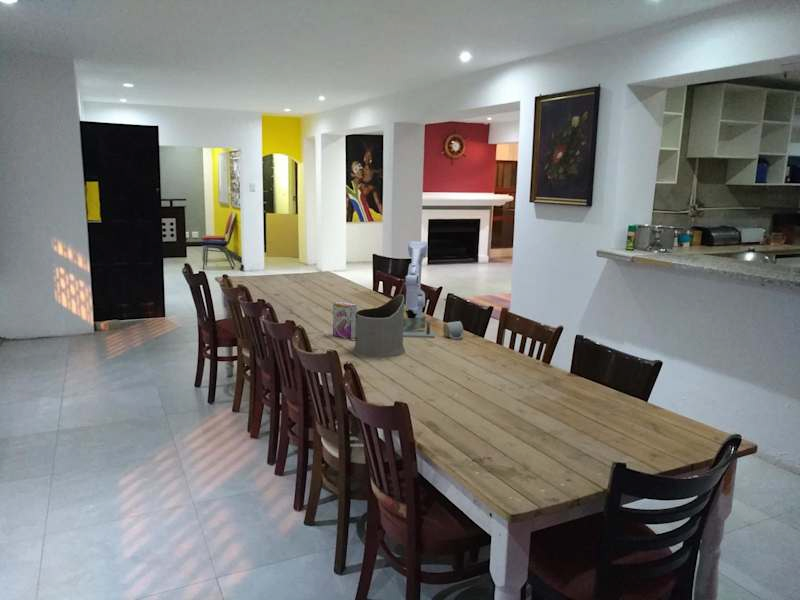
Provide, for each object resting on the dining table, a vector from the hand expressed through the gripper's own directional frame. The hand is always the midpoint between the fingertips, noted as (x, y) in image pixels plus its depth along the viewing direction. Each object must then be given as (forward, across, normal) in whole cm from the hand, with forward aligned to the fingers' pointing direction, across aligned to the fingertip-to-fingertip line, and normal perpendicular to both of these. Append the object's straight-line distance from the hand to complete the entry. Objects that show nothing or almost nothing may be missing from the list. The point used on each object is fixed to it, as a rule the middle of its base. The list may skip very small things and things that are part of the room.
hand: (411, 324), depth 310 cm
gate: (+2, +2, 0) cm, 3 cm away
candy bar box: (+4, +4, -35) cm, 36 cm away
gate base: (+3, +9, -1) cm, 9 cm away
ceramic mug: (+4, +16, +17) cm, 24 cm away
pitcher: (+4, +33, -30) cm, 44 cm away
